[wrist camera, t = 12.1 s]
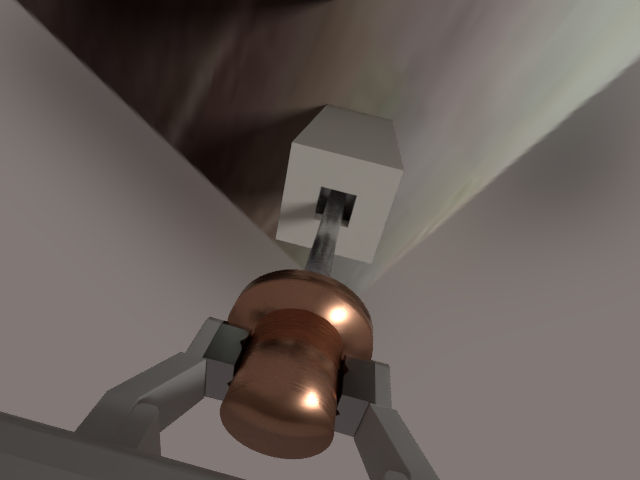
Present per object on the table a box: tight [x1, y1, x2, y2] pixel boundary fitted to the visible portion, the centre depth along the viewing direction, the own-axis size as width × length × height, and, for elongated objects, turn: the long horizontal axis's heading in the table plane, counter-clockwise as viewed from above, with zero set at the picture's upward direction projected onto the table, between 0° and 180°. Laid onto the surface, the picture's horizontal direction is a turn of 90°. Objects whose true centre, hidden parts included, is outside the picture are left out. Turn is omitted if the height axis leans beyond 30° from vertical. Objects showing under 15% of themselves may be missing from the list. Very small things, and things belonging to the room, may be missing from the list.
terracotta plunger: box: [220, 187, 373, 459], centre depth 17 cm, size 5×5×18 cm
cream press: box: [276, 104, 404, 264], centre depth 30 cm, size 7×7×17 cm
